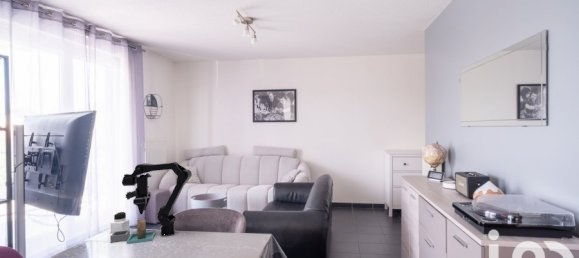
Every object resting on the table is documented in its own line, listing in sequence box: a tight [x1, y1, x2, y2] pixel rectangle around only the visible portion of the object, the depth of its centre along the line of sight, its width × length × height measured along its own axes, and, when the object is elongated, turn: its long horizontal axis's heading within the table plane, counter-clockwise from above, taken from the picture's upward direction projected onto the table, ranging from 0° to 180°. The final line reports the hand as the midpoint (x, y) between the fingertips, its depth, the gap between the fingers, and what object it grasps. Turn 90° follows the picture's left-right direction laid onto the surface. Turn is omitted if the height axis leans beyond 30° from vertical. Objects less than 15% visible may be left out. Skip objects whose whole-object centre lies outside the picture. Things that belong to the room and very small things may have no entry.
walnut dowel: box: [136, 218, 147, 239], centre depth 157 cm, size 4×4×10 cm
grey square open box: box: [110, 229, 131, 244], centre depth 156 cm, size 8×8×4 cm
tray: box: [126, 231, 156, 245], centre depth 157 cm, size 12×12×2 cm
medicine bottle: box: [110, 211, 130, 234], centre depth 171 cm, size 7×7×12 cm
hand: (142, 212), depth 166 cm, fingers open, 9 cm apart
